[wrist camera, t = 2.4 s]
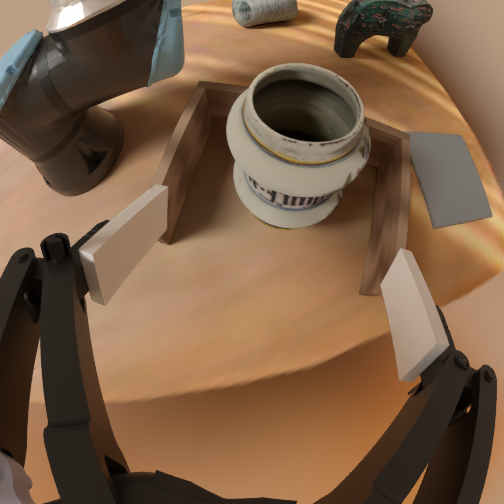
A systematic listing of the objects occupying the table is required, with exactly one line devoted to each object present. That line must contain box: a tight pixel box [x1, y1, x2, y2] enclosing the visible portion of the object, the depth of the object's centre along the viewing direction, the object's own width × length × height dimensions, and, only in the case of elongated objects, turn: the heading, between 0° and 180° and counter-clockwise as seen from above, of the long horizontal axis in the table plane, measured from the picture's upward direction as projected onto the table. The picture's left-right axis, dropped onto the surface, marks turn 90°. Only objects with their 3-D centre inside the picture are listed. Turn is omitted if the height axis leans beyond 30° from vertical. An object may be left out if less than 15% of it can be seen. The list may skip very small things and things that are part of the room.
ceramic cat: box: [334, 0, 433, 58], centre depth 30 cm, size 20×6×20 cm, turn 111°
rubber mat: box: [404, 132, 492, 229], centre depth 34 cm, size 16×16×1 cm
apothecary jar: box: [226, 63, 371, 231], centre depth 25 cm, size 12×12×18 cm
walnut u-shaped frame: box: [149, 81, 411, 296], centre depth 30 cm, size 19×26×8 cm
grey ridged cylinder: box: [232, 0, 298, 27], centre depth 37 cm, size 14×10×10 cm
